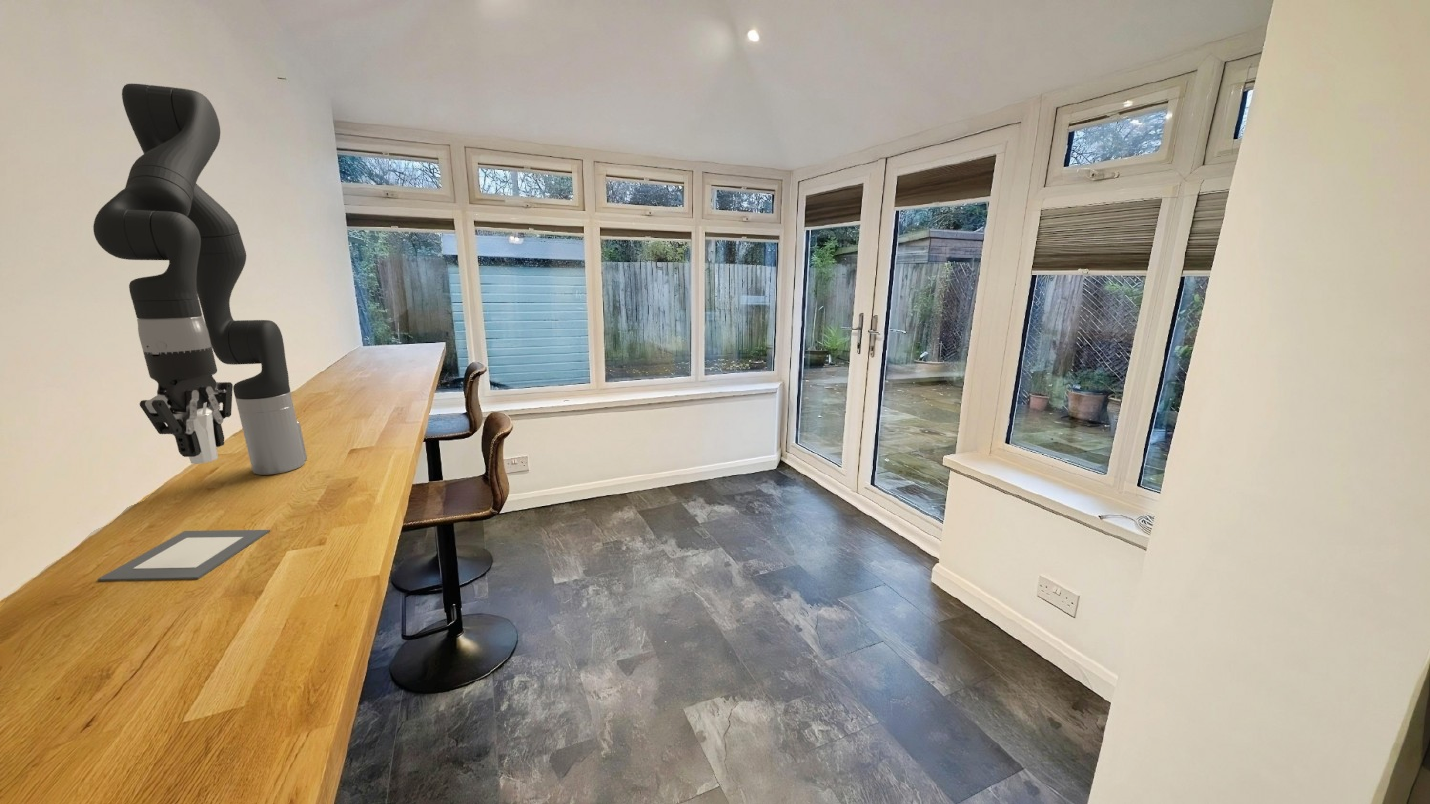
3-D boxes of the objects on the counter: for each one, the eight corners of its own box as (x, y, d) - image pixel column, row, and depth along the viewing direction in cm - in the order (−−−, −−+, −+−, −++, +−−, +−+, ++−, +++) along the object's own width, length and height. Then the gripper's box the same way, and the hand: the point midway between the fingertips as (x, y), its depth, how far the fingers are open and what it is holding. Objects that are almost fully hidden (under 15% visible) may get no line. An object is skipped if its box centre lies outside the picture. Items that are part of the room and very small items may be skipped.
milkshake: (204, 467, 82) (188, 406, 79) (177, 464, 83) (161, 404, 80) (234, 457, 86) (220, 399, 84) (209, 454, 87) (194, 397, 85)
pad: (185, 532, 90) (184, 530, 90) (270, 531, 91) (269, 529, 91) (97, 580, 76) (97, 578, 76) (198, 579, 77) (198, 576, 77)
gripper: (193, 340, 87) (216, 437, 91) (102, 354, 73) (135, 467, 77) (241, 340, 87) (262, 437, 91) (160, 354, 73) (189, 466, 78)
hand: (203, 450), depth 84 cm, fingers closed on milkshake, 4 cm apart
